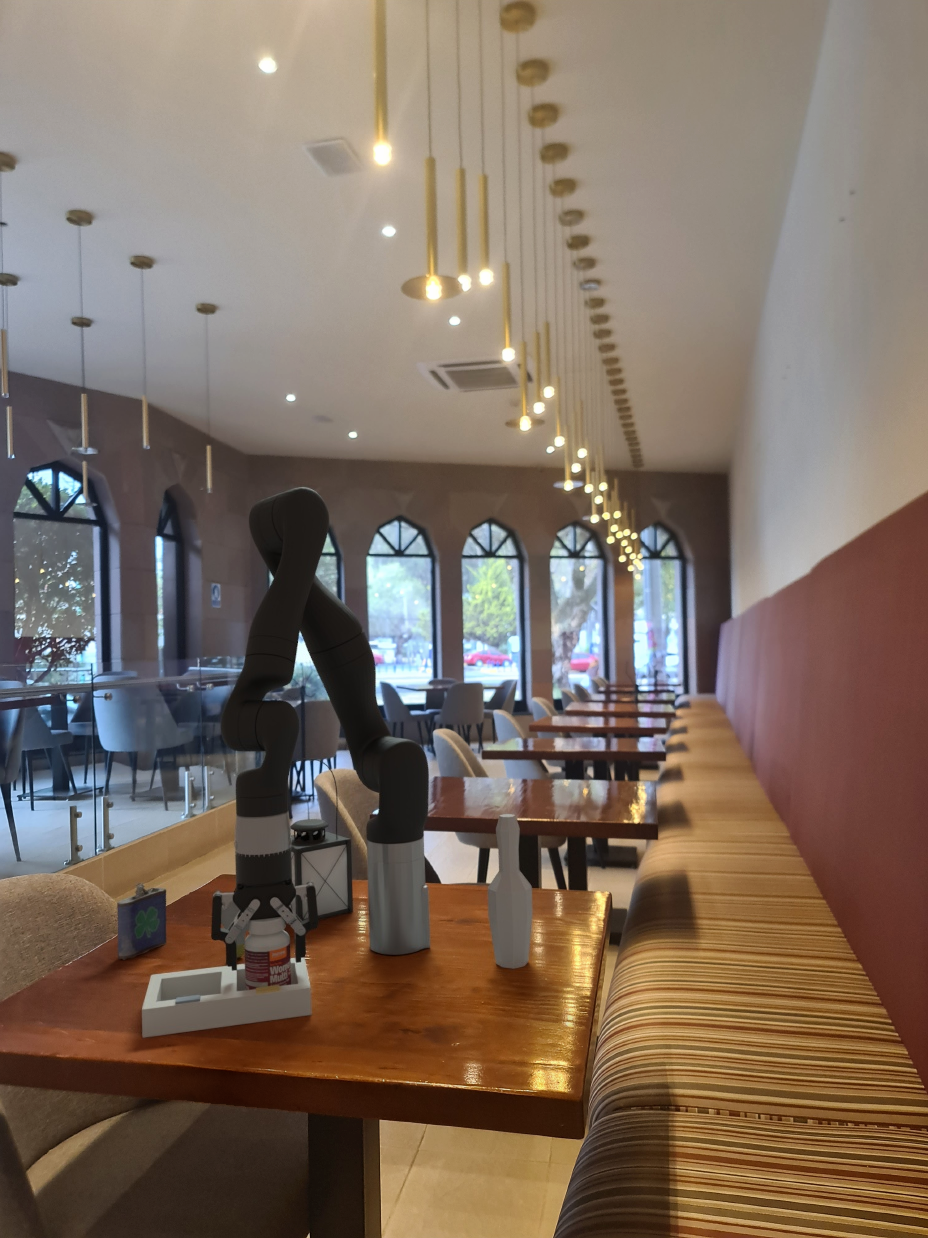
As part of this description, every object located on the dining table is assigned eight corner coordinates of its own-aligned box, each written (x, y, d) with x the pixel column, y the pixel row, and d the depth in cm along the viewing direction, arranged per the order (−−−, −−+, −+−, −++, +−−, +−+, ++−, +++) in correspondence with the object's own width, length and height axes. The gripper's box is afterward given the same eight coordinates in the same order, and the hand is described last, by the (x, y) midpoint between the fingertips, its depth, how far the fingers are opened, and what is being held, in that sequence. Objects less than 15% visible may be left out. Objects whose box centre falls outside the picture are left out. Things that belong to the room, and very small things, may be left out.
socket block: (305, 981, 126) (304, 954, 127) (311, 1015, 115) (310, 985, 115) (151, 1000, 121) (151, 972, 121) (142, 1038, 110) (141, 1007, 110)
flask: (125, 961, 137) (123, 892, 137) (112, 958, 138) (110, 890, 139) (170, 942, 145) (169, 877, 145) (158, 940, 146) (156, 876, 147)
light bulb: (246, 965, 134) (244, 899, 134) (213, 963, 135) (211, 898, 135) (261, 952, 139) (259, 889, 139) (229, 951, 140) (228, 888, 140)
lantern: (353, 912, 158) (350, 757, 159) (297, 926, 151) (294, 764, 152) (323, 899, 167) (320, 752, 168) (269, 912, 160) (266, 758, 161)
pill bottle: (277, 1010, 116) (275, 924, 116) (236, 1006, 117) (234, 921, 118) (299, 992, 121) (297, 910, 122) (260, 988, 123) (258, 907, 124)
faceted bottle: (541, 961, 131) (536, 814, 132) (514, 974, 127) (509, 821, 127) (509, 952, 136) (504, 810, 136) (482, 964, 131) (477, 816, 132)
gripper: (313, 835, 125) (316, 949, 125) (210, 844, 122) (213, 961, 121) (318, 847, 118) (321, 968, 118) (208, 857, 114) (211, 982, 114)
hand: (266, 965), depth 119 cm, fingers open, 8 cm apart
